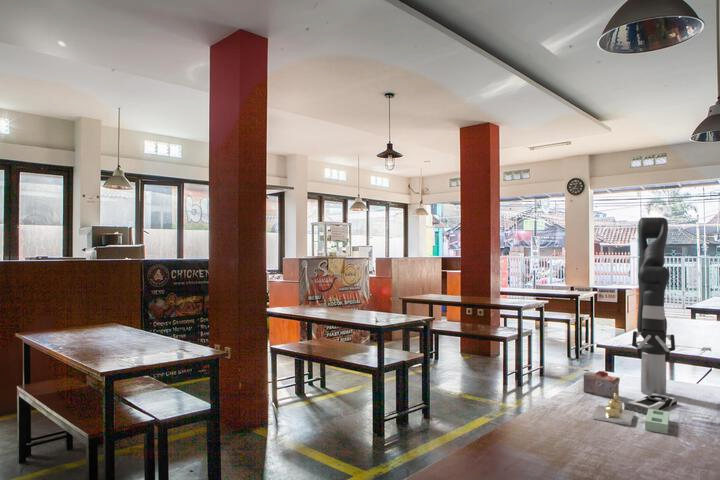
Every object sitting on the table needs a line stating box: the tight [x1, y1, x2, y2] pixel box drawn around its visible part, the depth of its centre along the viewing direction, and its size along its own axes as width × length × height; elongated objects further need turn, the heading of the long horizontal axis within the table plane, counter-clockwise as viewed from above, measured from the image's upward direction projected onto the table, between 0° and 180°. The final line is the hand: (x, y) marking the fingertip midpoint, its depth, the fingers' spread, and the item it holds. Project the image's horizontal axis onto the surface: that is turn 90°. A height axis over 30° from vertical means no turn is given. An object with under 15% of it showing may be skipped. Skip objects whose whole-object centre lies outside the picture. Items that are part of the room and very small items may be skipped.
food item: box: [582, 370, 621, 399], centre depth 207 cm, size 14×8×10 cm, turn 42°
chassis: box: [592, 393, 636, 426], centre depth 178 cm, size 13×12×8 cm
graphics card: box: [623, 394, 678, 415], centre depth 191 cm, size 10×3×25 cm
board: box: [644, 408, 670, 435], centre depth 171 cm, size 16×6×3 cm, turn 146°
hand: (653, 360), depth 190 cm, fingers open, 8 cm apart
